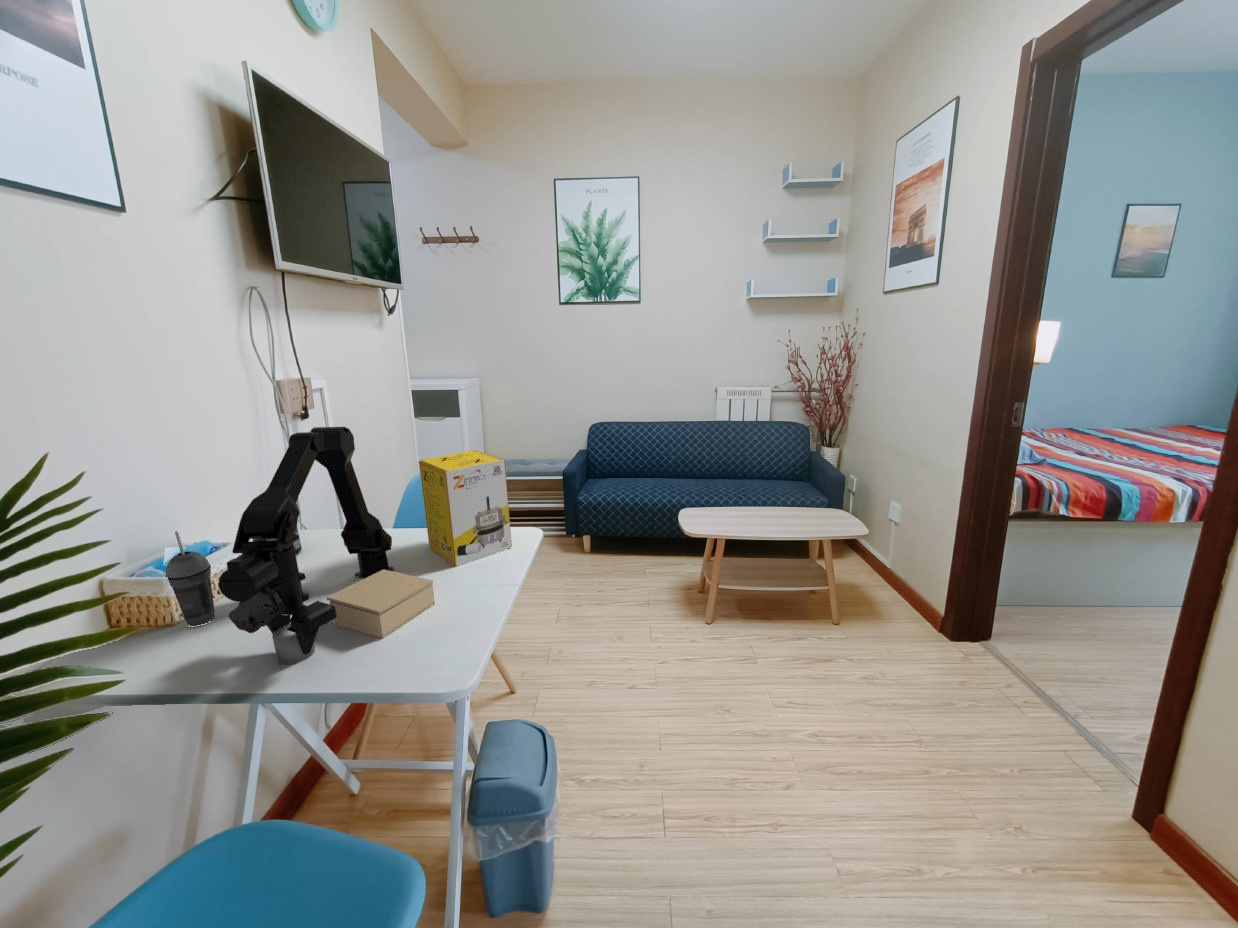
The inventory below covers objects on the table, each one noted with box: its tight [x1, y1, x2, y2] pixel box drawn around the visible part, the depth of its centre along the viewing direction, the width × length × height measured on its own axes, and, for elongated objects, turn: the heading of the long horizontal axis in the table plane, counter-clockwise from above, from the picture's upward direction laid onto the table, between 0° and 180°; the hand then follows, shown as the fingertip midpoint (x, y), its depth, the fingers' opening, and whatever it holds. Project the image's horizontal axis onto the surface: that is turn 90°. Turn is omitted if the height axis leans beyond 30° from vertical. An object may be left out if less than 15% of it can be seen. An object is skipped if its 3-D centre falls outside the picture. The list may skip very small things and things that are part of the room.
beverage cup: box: [165, 530, 216, 626], centre depth 106 cm, size 7×7×20 cm
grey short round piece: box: [271, 623, 316, 666], centre depth 96 cm, size 6×6×5 cm
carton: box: [329, 583, 436, 639], centre depth 109 cm, size 14×14×5 cm
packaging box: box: [418, 449, 513, 567], centre depth 139 cm, size 16×16×25 cm
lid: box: [326, 569, 434, 614], centre depth 108 cm, size 15×14×1 cm
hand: (295, 649), depth 96 cm, fingers closed on grey short round piece, 6 cm apart
